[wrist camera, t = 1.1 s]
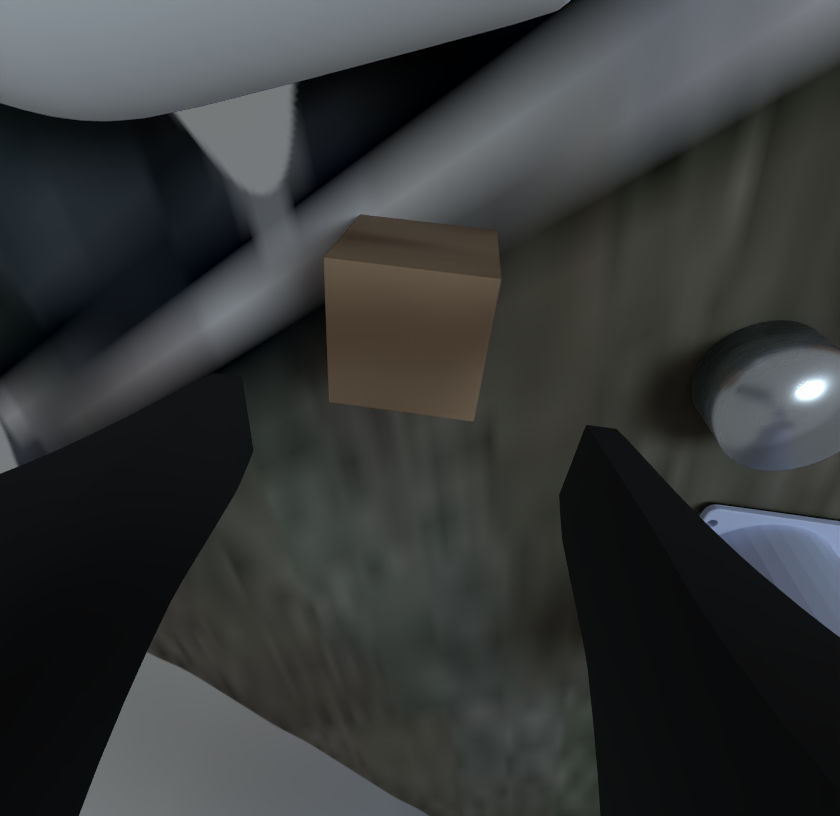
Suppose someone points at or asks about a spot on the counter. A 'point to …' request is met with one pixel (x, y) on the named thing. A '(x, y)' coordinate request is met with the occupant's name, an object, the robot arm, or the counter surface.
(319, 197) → the counter surface
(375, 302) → the walnut cube
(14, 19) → the milk bottle
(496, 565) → the counter surface
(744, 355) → the grey tin
